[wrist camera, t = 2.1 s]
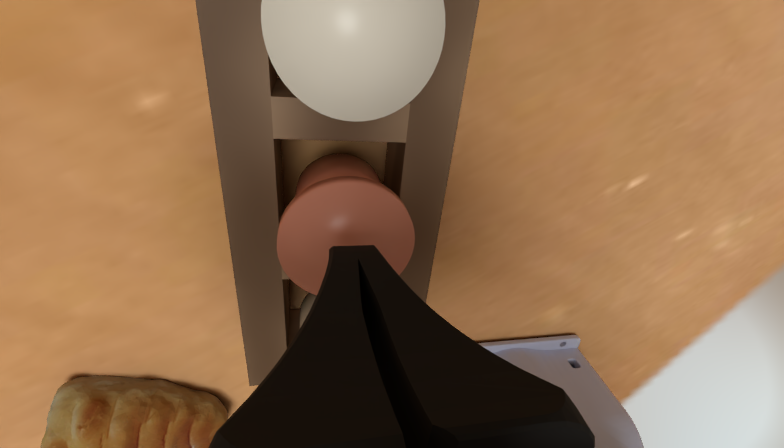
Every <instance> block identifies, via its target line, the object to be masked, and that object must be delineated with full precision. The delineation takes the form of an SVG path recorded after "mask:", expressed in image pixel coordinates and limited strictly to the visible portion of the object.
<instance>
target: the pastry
mask: <svg viewBox="0 0 784 448" xmlns="http://www.w3.org/2000/svg"><path fill="white" fill-rule="evenodd" d="M227 418H228V413H227V410H226V409H225V407H224V406H223V404H222V403H221V402H220V400H219V399H218V398H217V397H215V396H214V395H212V394H210V393H208V392H205V391H196V390H192V389H189V388H187V387H184V386H180V385H177V384H175V383H172V382H170V381H167V380H163V379H156V380H149V379H143V378H130V377H118V376H98V375H97V376H85V377H78V378H75V379H73V380H71V381H69V382H67V383H65V384H63V385H62V386H61V387H60V388H59V389H58V390H57V393H56V395H55V397H54V399H53V402H52V404H51V408H50V411H49V413H48V417H47V427H46V432H45V435H44V437H43V440H42V443H41V448H209V445H210V443H211V441H212V439H213V437H214V435H215V433H216V431H217V430H218V429H219V428H220V427H221V426H222V425H223V424H224V423H225V422H226V421H227Z"/></svg>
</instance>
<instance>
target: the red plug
mask: <svg viewBox="0 0 784 448" xmlns="http://www.w3.org/2000/svg"><path fill="white" fill-rule="evenodd" d="M414 244H415V232H414V227H413V223H412V220H411V218H410V216H409V213H408V211H407V209H406V207H405V205H404V204H403V202H402V201H401V199H400V198H399V197H398V196H397V195H396V194H395V193H394V192H393V191H392V190H391V189H389V188H388V187H386V186H385V185H383V184H381V182H380V180H379V178H378V175H377V174H376V172H375V171H374V169H373V168H372V167H371V166H370V165H369V164H368V163H366V162H365V161H364V160H362V159H360V158H358V157H355V156H352V155H348V154H332V155H327V156H324V157H321V158H319V159H317V160H315V161H314V162H312V163H311V164H310V165H308V166H307V167H306V168H305V170H304V171H303V172H302V174H301V175H300V177H299V179H298V182H297V186H296V196H295V198H294V199H293V200H292V201H291V202H290V203H289V205H288V206H287V207H286V209H285V211H284V213H283V215H282V217H281V220H280V223H279V228H278V235H277V254H278V258H279V261H280V264H281V266H282V268H283V270H284V272H285V273H286V274H287V276H288V277H289V278H290V279H291V280H292V281H293V282H294V283H295V284H296V285H298V286H299V287H300V288H302V289H304V290H305V291H307V292H309V293H312V294H314V295H317V294H318V292H319V289H320V286H321V284H322V281H323V278H324V275H325V272H326V269H327V265H328V260H329V249H330V248H331V247H332V246H354V245H374V246H375V247H376V248H377V249H378V250H379V251H380V253H381V254H382V255H383V257H384V258H385V259H386V260H387V262H388V263H389V264H390V265H391V267H392V268H393V269H394V270H395V271H396V273H397V274H398V275H400V274H401V273H402V272H403V270H404V269H405V267H406V266H407V264H408V262H409V260H410V258H411V256H412V253H413V249H414Z"/></svg>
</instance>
